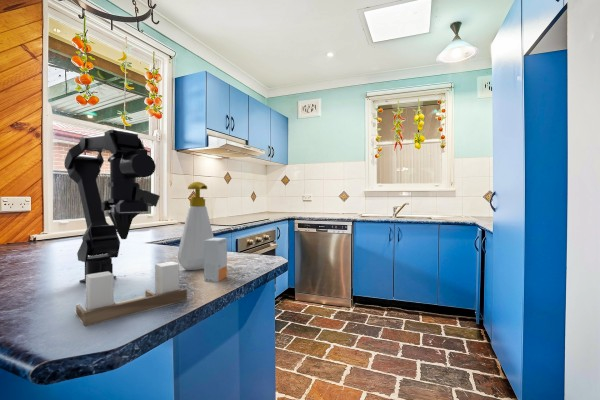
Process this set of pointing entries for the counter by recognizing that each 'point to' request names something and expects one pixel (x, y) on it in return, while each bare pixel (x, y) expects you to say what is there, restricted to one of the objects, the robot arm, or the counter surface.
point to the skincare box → (215, 259)
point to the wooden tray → (130, 306)
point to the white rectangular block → (166, 277)
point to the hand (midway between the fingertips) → (123, 239)
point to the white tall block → (99, 290)
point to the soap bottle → (195, 231)
